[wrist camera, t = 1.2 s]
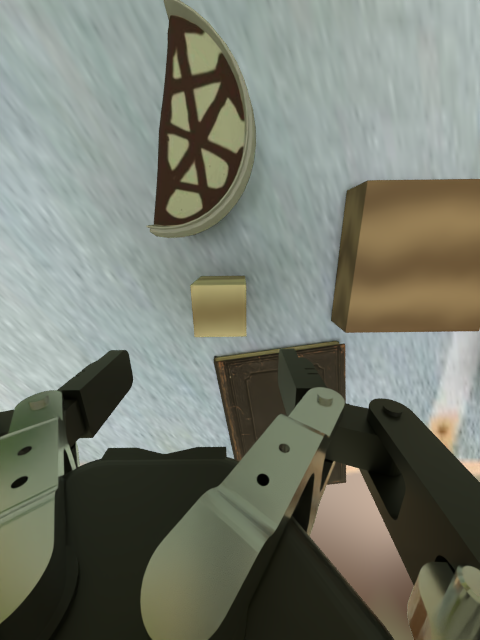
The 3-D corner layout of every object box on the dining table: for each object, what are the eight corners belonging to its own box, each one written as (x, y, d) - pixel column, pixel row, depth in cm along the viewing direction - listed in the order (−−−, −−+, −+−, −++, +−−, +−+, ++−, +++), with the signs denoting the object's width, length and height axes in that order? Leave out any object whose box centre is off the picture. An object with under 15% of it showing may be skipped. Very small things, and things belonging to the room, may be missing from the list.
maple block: (201, 276, 26) (190, 285, 20) (244, 275, 26) (246, 284, 20) (203, 317, 28) (194, 337, 22) (244, 317, 28) (246, 336, 22)
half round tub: (237, 250, 25) (235, 254, 16) (181, 238, 25) (145, 235, 15) (263, 115, 21) (282, 12, 12) (197, 98, 21) (163, -22, 11)
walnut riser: (346, 190, 23) (367, 180, 20) (484, 188, 23) (531, 178, 19) (331, 320, 28) (345, 332, 24) (446, 319, 28) (478, 331, 24)
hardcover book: (337, 337, 29) (345, 344, 27) (339, 468, 36) (346, 482, 34) (214, 354, 30) (212, 362, 28) (240, 479, 37) (240, 494, 35)
